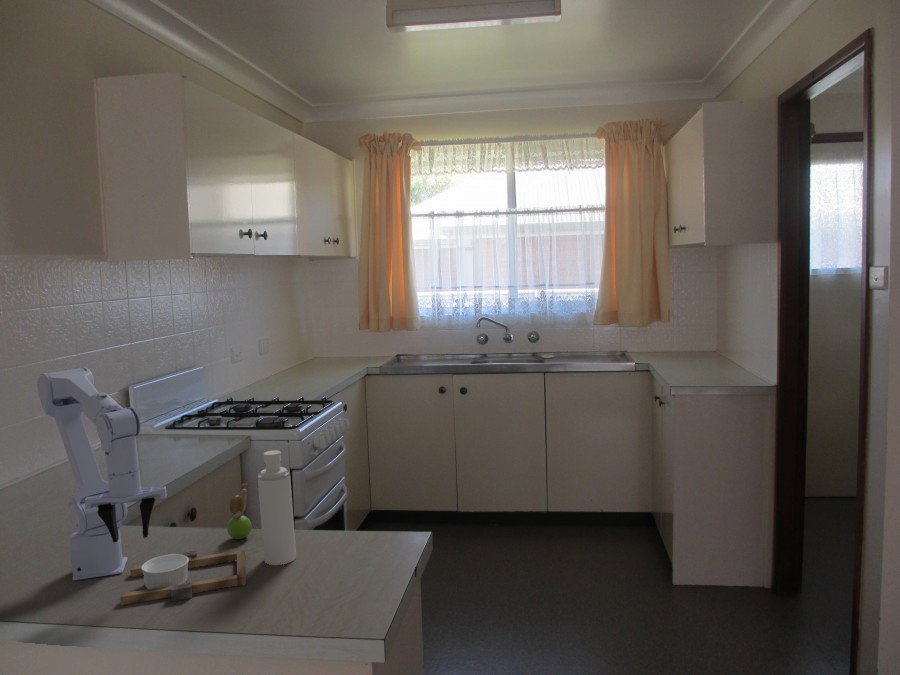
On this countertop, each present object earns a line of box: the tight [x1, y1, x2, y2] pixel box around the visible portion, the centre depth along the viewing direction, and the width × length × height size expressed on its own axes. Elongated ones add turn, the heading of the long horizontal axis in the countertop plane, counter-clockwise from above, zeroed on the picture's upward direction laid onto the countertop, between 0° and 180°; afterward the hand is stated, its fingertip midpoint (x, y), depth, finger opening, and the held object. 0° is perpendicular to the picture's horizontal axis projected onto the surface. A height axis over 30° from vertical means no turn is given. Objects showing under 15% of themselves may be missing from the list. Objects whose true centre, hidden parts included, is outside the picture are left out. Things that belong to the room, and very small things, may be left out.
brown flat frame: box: [119, 549, 247, 606], centre depth 146 cm, size 23×18×2 cm
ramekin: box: [141, 553, 189, 589], centre depth 145 cm, size 9×9×4 cm
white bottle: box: [257, 450, 297, 566], centre depth 153 cm, size 7×7×25 cm
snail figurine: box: [226, 483, 253, 540], centre depth 166 cm, size 5×6×12 cm
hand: (131, 538), depth 142 cm, fingers open, 5 cm apart
